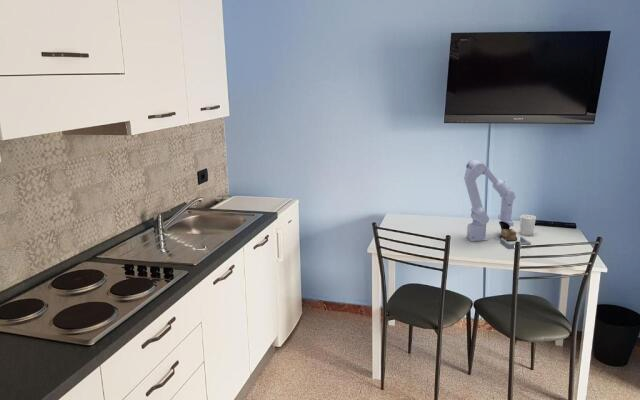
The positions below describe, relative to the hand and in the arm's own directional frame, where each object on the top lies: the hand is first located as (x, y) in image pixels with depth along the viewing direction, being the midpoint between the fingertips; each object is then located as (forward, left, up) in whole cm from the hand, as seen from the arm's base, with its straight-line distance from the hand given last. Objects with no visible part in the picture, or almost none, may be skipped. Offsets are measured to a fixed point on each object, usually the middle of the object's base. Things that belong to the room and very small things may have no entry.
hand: (504, 234), depth 273 cm
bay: (0, -13, -1) cm, 13 cm away
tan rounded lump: (0, -5, -1) cm, 5 cm away
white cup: (+14, +2, -1) cm, 14 cm away
